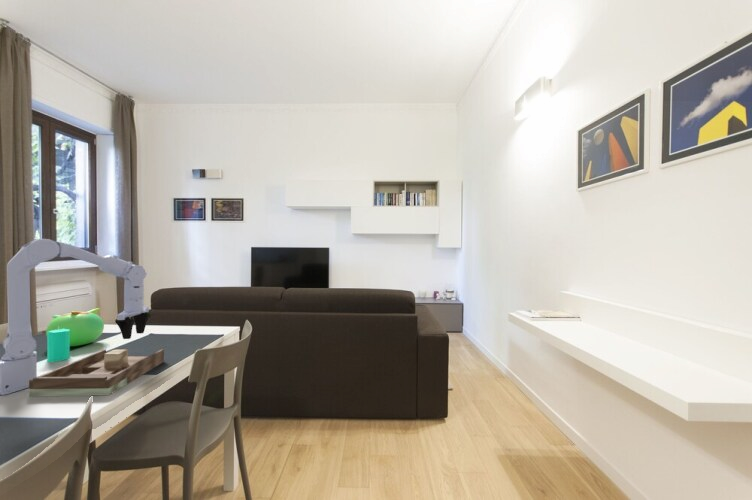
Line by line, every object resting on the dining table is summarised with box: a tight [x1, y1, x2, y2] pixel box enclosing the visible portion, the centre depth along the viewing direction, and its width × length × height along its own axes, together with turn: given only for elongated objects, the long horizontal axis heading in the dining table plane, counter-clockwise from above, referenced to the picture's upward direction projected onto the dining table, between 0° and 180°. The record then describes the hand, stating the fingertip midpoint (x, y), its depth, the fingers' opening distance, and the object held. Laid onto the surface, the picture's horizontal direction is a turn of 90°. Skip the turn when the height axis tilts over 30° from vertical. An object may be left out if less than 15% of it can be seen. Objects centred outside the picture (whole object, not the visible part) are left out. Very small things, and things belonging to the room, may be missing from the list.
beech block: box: [104, 349, 129, 368], centre depth 115 cm, size 4×4×4 cm
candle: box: [46, 326, 71, 363], centre depth 126 cm, size 6×6×12 cm
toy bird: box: [45, 307, 105, 348], centre depth 143 cm, size 18×17×15 cm
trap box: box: [28, 348, 165, 397], centre depth 110 cm, size 28×21×5 cm
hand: (133, 335), depth 124 cm, fingers open, 7 cm apart
